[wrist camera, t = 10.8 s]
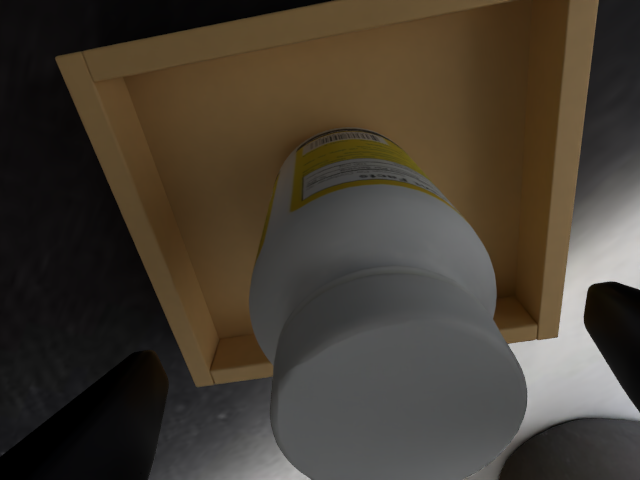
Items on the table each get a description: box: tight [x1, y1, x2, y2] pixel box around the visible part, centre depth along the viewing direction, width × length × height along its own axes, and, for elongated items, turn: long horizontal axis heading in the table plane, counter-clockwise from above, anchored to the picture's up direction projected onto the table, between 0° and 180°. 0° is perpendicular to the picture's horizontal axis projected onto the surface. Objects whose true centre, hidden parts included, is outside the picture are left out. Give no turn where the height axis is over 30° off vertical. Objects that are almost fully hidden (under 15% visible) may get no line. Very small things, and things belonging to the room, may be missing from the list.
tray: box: [55, 0, 599, 387], centre depth 14 cm, size 15×13×2 cm
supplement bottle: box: [249, 127, 527, 480], centre depth 10 cm, size 5×5×10 cm
